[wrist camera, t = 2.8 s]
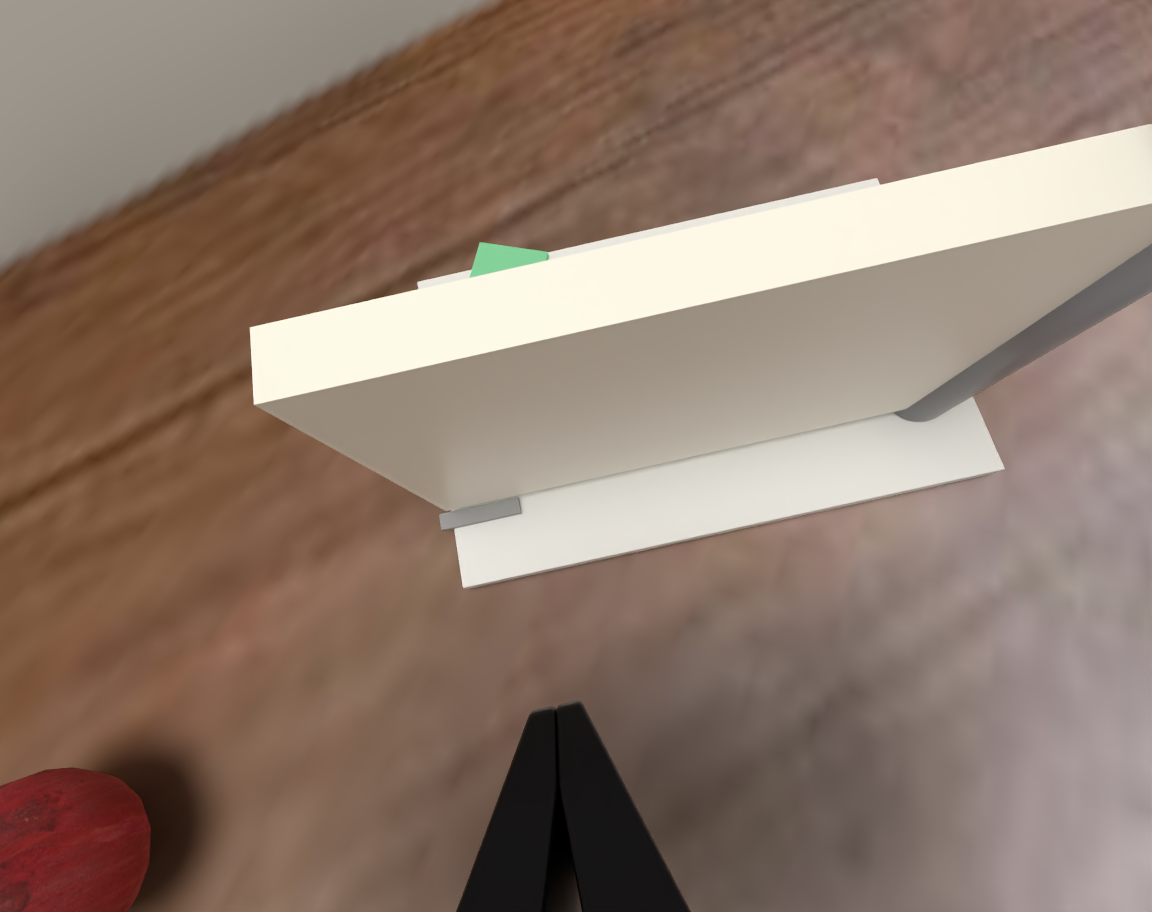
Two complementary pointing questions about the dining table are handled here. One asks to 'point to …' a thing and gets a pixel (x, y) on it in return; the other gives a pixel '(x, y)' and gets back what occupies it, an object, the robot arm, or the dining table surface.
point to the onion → (71, 843)
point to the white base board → (708, 469)
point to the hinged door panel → (723, 327)
